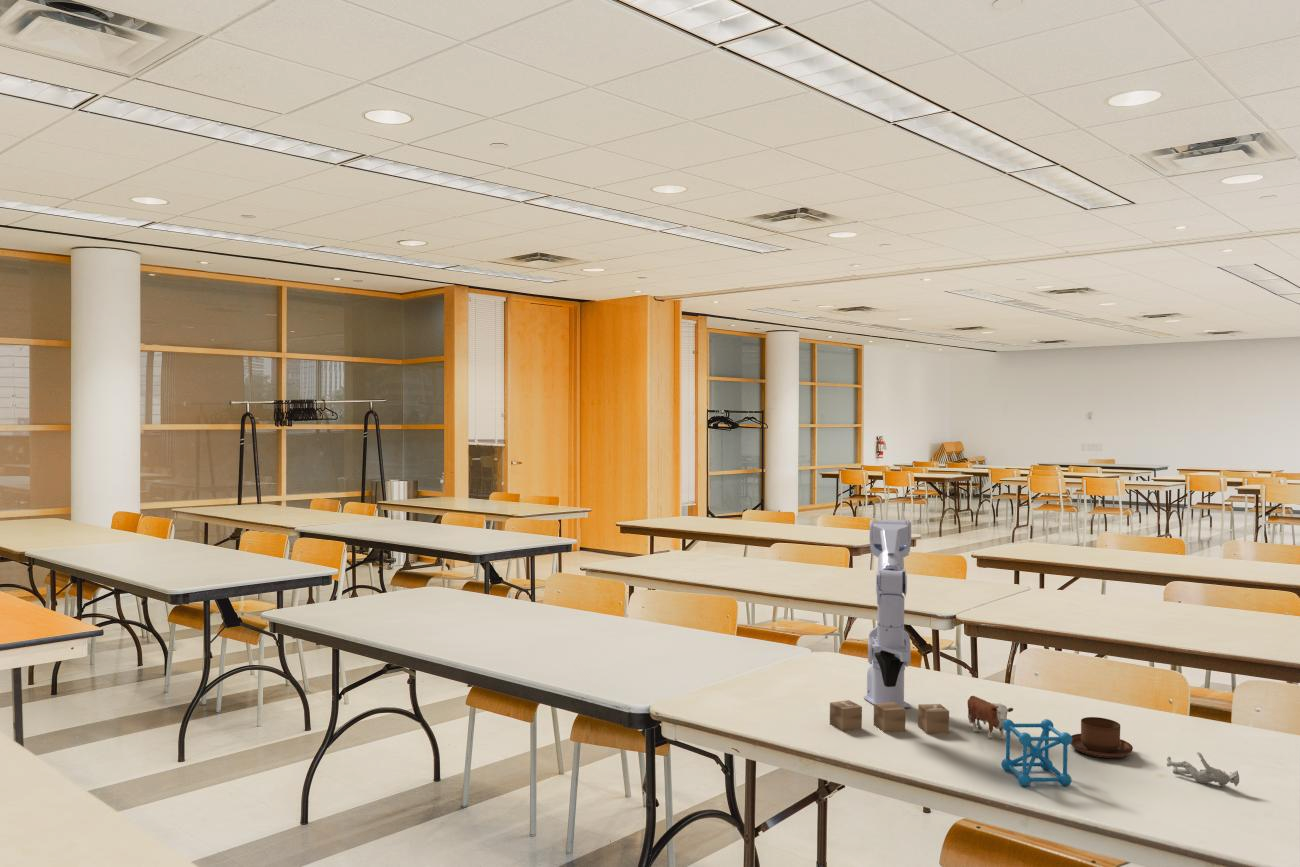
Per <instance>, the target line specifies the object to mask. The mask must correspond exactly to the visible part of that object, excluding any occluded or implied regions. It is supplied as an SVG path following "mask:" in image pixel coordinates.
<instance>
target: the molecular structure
mask: <svg viewBox="0 0 1300 867" xmlns="http://www.w3.org/2000/svg"><path fill="white" fill-rule="evenodd" d="M1002 728H1003V729H1004V731H1005V738H1006V740H1005V758H1003V759H1002V760H1001V762H1000V764H1001V768H1002V769H1003V770H1004V771H1006V772H1008V771H1011V772H1013V773H1014V774H1015V776H1016V777H1017V781H1018V784H1019V785H1020V786H1022V787H1028V786H1030V784H1031V783H1033V782H1037V783H1041V782H1044V783H1046V782H1048V783H1049V782H1050V783H1054V782H1056V783H1059V784H1060V785H1061V786H1063V787H1068V786H1070V785H1071V784H1072V782H1073V781H1072V780H1073V779H1072V777H1071V775H1070V774H1068V748H1069V747H1068V746H1070V745H1071V743H1072V735H1071V734H1070V733H1068V732H1060V731H1059V730H1057V729H1056V728H1054V723H1053V721H1052V720H1050V719H1047V718H1045V719H1043V720H1042V721H1040V723H1015V722H1014V721H1013V720H1011V719H1009V718H1007V719H1006V720H1004V721H1003V722H1002ZM1016 728H1041V729H1042V731H1041V733H1040V736H1031V734H1030V733H1028V732H1020V731H1019V730H1018V729H1016ZM1011 732H1012V733H1013V735H1015V736H1016V737H1017V739H1018V742H1019V743H1020V744H1021V745H1022V755H1021V756H1019V757H1017V758H1013V759H1010V758H1011V755H1010V754H1011ZM1050 732H1052V733H1054V734H1055V735H1057V736H1050ZM1032 742H1037V744H1036V745H1034V744H1032ZM1043 742H1044V745H1043V746H1042V744H1043ZM1049 742H1050V743H1049ZM1060 744H1061V745H1062V749H1063V752H1062V772H1061V771H1059V769H1058V768H1056V767H1055V766H1054V764H1053V761H1052V760H1051V759H1050V758H1049V755H1050V753H1049V752H1050V749H1051V748H1053V747H1055V746H1057V745H1058V746H1059V745H1060ZM1028 749H1029V752H1028ZM1043 752H1044V755H1043ZM1029 758H1030V760H1029V761H1028V759H1029ZM1036 759H1038V760H1039V762H1035V761H1036ZM1021 761H1022V762H1021ZM1015 767H1022V771H1021V773H1020V771H1018V769H1016V768H1015ZM1033 767H1040V768H1041V769H1042V770H1044V771H1046V772H1048V771H1051V772H1052V773H1053V774H1054V775H1056V776H1057V777H1031V776H1030V773H1031V771H1032V769H1033Z"/></svg>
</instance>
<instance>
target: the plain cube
mask: <svg viewBox="0 0 1300 867" xmlns="http://www.w3.org/2000/svg"><path fill="white" fill-rule="evenodd" d="M873 726H874V727H875V726H876V727H875V728H877V729H878V728H879V729H880V730H879V729H878V730H879V731H881V730H882V731H883V732H882V731H881V732H882V733H883V734H885V733H886V732H889V733H899V732H900V733H901V731H902V732H906V708H903V707H902V706H900V705H898V704H897V703H895V702H888V703H874V705H873Z"/></svg>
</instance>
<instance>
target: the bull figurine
mask: <svg viewBox="0 0 1300 867" xmlns="http://www.w3.org/2000/svg"><path fill="white" fill-rule="evenodd" d="M967 709H968V711H967V712H968V713H967V718H968V721H969V723H970V725H971V724H972V730H973V732H974V733H976V734H977V733H979V729H983V727H982V725H981V723H980V721H981V722H983V725H986V724H988V730H989V732H988V734H987V737H988V739H989V740H994V736H993V731H994V728H995V729H996V730H999V732H1000V736H999V737H1000V739H1001V740H1002V741H1006V735H1005V733H1004V731H1005V730H1004V729H1003V728H1002V722H1003V721H1004V720H1006V719H1008V713H1011V712H1013V711H1014V708H1013V707H1007V706H1006V705H1004V704H1001V703H995V702H993V703H992V702H989V701H986V700H985V699H982V698H980V697H978V696H975V695H971V696H970V697H969V698H968V699H967Z"/></svg>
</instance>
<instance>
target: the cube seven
mask: <svg viewBox="0 0 1300 867" xmlns="http://www.w3.org/2000/svg"><path fill="white" fill-rule="evenodd" d="M917 706H918V707H917V727H918V728H919V729H920V730H921V729H922V731H923V733H925V734H926V735H940V734H939V733H949V734H950V710H948V709H947V708H946V707H945V706H943V705H942V704H940V703H928V704H927V703H926V704H925V703H924V704H923V703H922V704H918V705H917Z"/></svg>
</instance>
